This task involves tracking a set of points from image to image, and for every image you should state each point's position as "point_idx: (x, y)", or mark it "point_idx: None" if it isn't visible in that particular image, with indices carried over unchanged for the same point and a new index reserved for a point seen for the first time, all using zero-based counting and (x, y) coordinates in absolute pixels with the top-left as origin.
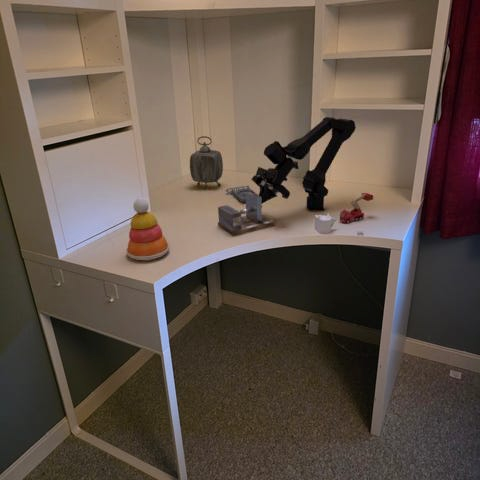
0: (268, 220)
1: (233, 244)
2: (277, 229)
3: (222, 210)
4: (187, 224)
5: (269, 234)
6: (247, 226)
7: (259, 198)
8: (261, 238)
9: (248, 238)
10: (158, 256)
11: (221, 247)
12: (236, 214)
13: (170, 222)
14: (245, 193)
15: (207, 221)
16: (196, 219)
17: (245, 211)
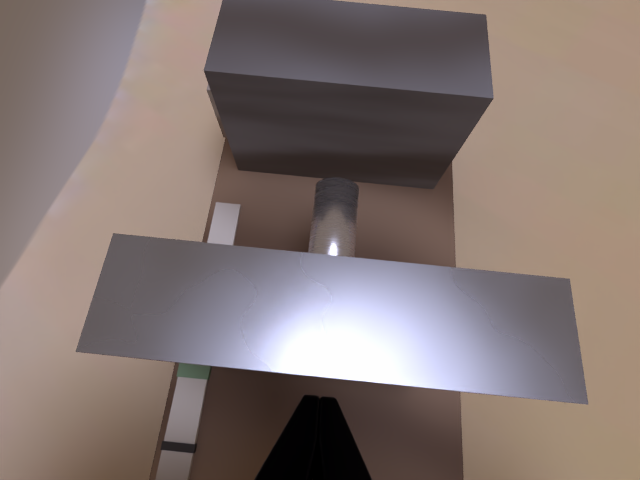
0: (218, 462)
1: (152, 68)
2: (84, 434)
3: (394, 14)
4: (563, 44)
5: (73, 311)
6: (246, 228)
7: (109, 304)
8: (76, 224)
9: (145, 167)
10: None
11: (172, 16)
12: (217, 39)
13: (636, 3)
14: (551, 283)
15: (553, 139)
16: (621, 111)
17: (312, 220)
